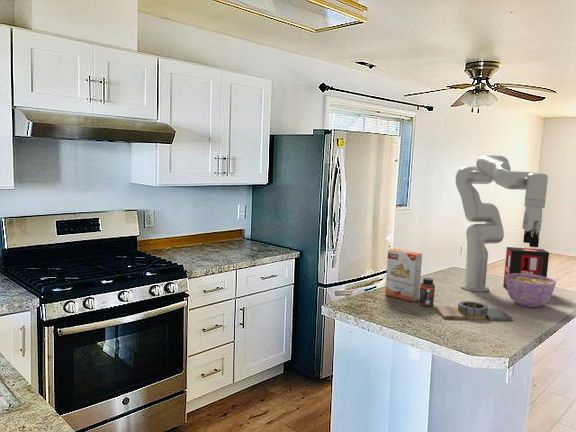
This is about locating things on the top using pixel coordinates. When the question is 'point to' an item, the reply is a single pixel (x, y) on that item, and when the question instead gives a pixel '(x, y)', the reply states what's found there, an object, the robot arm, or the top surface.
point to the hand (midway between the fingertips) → (530, 244)
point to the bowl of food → (529, 289)
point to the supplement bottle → (427, 292)
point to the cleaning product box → (526, 262)
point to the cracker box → (403, 274)
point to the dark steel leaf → (483, 311)
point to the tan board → (457, 313)
